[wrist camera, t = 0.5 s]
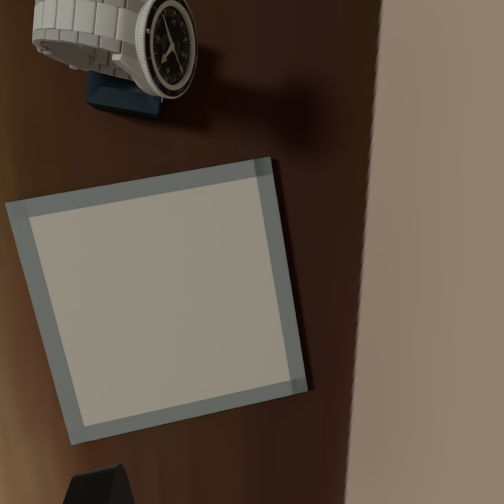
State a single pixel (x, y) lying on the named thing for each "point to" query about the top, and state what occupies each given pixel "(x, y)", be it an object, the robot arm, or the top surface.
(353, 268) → the top surface
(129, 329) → the mat
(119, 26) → the watch
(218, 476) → the top surface
